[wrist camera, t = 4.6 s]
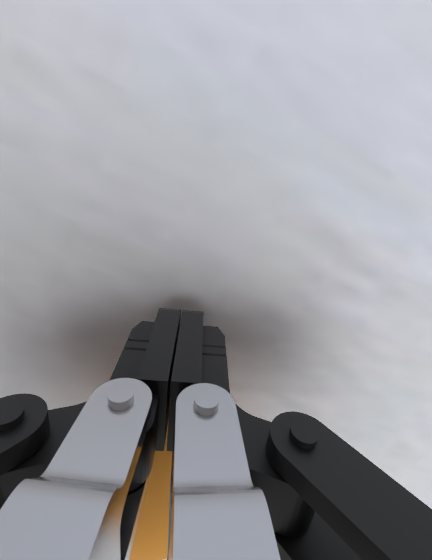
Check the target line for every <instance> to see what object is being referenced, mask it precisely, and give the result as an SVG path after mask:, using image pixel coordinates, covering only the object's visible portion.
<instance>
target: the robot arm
mask: <svg viewBox="0 0 432 560" xmlns="http://www.w3.org/2000/svg"><path fill="white" fill-rule="evenodd" d="M180 320H181V323H180ZM167 427H168V434H167V450H166V451H172V465H171V478H170V497H169V521H168V546H167V560H432V509H431V508H429V507H428V506H427V505H425V504H424V503H423V502H422V501H420V500H419V499H418V498H416V497H415V496H414V495H413V494H411V493H410V492H409V491H408V490H406V489H405V488H404V487H402V486H401V485H400V484H399V483H397V482H396V481H395V480H394V479H392V478H391V477H390V476H388V475H387V474H386V473H385V472H383V471H382V470H381V469H379V468H378V467H377V466H376V465H374V464H373V463H372V462H371V461H369V460H368V459H367V458H365V457H364V456H363V455H362V454H360V453H359V452H358V451H357V450H355V449H354V448H353V447H351V446H350V445H349V444H348V443H346V442H345V441H344V440H342V439H341V438H340V437H339V436H337V435H336V434H335V433H334V432H332V431H331V430H330V429H328V428H327V427H326V426H325V425H323V424H322V423H321V422H319V421H318V420H317V419H315V418H313V417H311V416H309V415H307V414H303V413H300V412H285V413H282V414H280V415H278V416H277V417H275V418H274V420H273V421H272V422H269V421H266V420H263V419H260V418H257V417H255V416H252V415H250V414H248V413H246V412H245V411H243V410H242V409H241V408H239V407H238V406H237V405H236V403H235V401H234V399H233V397H232V396H231V395H230V390H229V380H228V369H227V358H226V348H225V336H224V335H223V334H222V332H221V331H220V330H219V328H218V327H210V326H203V312H202V311H190V310H183V311H182V317H181V310H177V309H165V308H160V309H159V311H158V314H157V318H156V321H155V322H147V321H142V322H141V323H139V324H138V325H137V326H135V327H134V328H133V329H132V331H131V333H130V335H129V338H128V341H127V342H126V345H125V347H124V349H123V351H122V354H121V356H120V358H119V361H118V363H117V365H116V367H115V370H114V372H113V374H112V377H111V379H110V381H108V382H105V383H104V384H102V385H100V386H99V387H98V388H96V389H95V390H94V391H93V393H92V394H91V396H90V397H89V399H88V401H86V402H84V403H81V404H78V405H74V406H69V407H64V408H58V409H53V410H48V409H47V405H46V403H45V401H44V400H43V399H42V398H40V397H38V396H36V395H32V394H16V395H11V396H6V397H3V398H0V560H129V557H130V553H131V549H132V545H133V542H134V538H135V534H136V530H137V526H138V522H139V518H140V514H141V511H142V507H143V503H144V499H145V495H146V491H147V487H148V483H149V474H150V472H151V469H152V465H153V459H154V454H155V451H164V447H165V440H166V433H167Z"/></svg>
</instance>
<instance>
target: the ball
mask: <svg viewBox="0 0 432 560" xmlns="http://www.w3.org/2000/svg"><path fill="white" fill-rule="evenodd" d="M167 434H168V427H167V433H166V440H165V447H164V451H155V454H154V459H153V465H152V469H151V472H150V474H149V483H148V487H147V491H146V495H145V499H144V503H143V507H142V511H141V514H140V518H139V522H138V526H137V530H136V534H135V538H134V542H133V545H132V549H131V553H130V557H129V560H162V559H166V558H167V546H168V521H169V497H170V478H171V465H172V451H166V450H167Z"/></svg>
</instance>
